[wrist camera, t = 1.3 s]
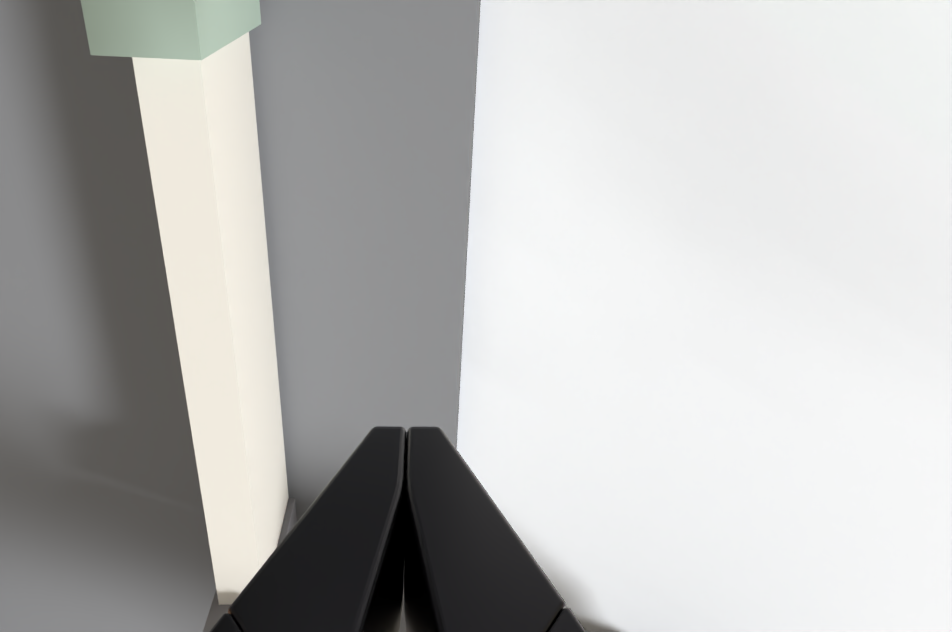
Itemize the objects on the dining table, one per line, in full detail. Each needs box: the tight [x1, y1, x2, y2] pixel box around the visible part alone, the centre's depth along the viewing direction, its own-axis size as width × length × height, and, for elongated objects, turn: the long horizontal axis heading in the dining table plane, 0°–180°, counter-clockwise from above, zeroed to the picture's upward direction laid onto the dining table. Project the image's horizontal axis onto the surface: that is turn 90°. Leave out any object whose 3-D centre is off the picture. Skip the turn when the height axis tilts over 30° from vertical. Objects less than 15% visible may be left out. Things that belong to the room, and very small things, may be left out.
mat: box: [0, 0, 481, 632], centre depth 21 cm, size 27×26×1 cm
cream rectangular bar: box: [81, 0, 297, 632], centre depth 18 cm, size 18×2×5 cm, turn 177°
